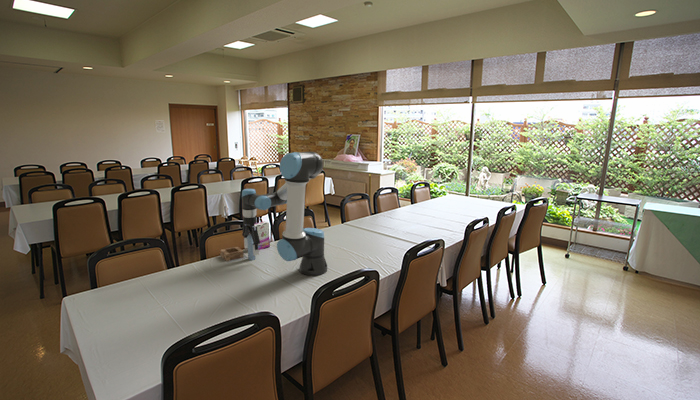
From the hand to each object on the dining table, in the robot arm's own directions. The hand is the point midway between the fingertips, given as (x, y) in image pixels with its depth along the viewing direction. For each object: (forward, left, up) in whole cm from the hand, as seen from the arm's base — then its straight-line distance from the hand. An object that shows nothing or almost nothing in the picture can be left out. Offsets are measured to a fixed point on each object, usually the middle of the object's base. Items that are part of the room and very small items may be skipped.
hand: (251, 251), depth 201 cm
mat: (+10, +7, -5) cm, 13 cm away
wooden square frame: (+10, +8, -5) cm, 14 cm away
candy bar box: (+15, -12, -5) cm, 20 cm away
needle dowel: (0, 0, -5) cm, 5 cm away
